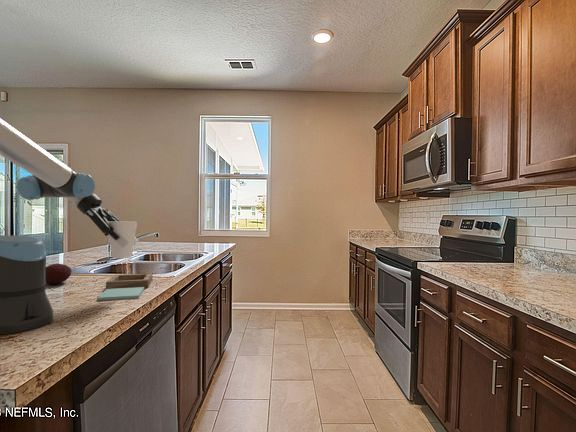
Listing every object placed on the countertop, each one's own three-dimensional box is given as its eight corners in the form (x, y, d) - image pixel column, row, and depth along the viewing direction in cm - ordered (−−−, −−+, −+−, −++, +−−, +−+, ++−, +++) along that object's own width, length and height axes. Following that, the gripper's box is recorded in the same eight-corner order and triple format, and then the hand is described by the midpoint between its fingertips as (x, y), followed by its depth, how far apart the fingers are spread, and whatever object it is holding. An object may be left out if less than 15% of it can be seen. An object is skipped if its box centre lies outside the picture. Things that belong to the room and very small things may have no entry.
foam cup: (135, 258, 116) (135, 222, 116) (105, 259, 112) (106, 221, 112) (136, 255, 124) (137, 221, 124) (109, 256, 121) (109, 221, 121)
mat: (138, 298, 114) (138, 295, 114) (97, 300, 110) (97, 297, 110) (144, 289, 126) (144, 286, 126) (106, 291, 122) (106, 289, 122)
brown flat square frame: (148, 287, 129) (148, 280, 129) (105, 289, 125) (105, 282, 125) (152, 280, 144) (152, 273, 144) (114, 281, 139) (114, 274, 139)
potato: (48, 281, 140) (48, 261, 140) (77, 280, 142) (77, 261, 142) (33, 287, 129) (33, 266, 129) (65, 286, 131) (65, 265, 131)
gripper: (92, 208, 127) (134, 248, 129) (59, 206, 105) (110, 254, 107) (106, 194, 128) (148, 235, 130) (77, 190, 106) (127, 239, 108)
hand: (131, 244), depth 119 cm, fingers closed on foam cup, 9 cm apart
